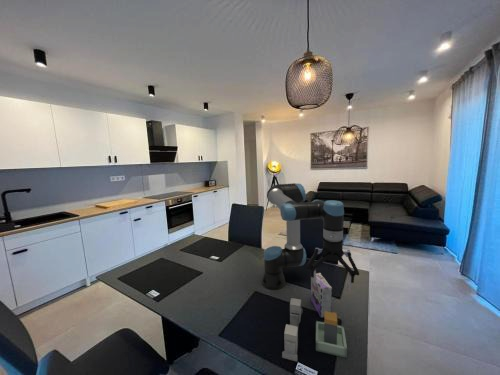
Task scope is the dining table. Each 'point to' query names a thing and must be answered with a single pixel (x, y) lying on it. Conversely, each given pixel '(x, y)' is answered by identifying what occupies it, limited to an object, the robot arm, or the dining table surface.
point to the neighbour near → (291, 335)
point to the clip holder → (290, 346)
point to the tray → (327, 347)
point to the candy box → (321, 294)
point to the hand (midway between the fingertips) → (331, 286)
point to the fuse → (330, 327)
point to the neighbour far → (296, 306)
